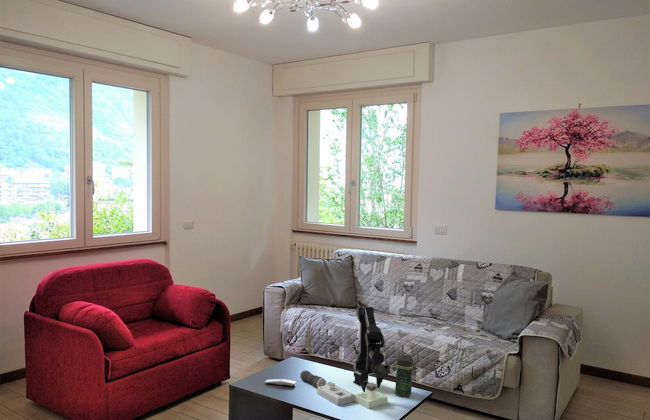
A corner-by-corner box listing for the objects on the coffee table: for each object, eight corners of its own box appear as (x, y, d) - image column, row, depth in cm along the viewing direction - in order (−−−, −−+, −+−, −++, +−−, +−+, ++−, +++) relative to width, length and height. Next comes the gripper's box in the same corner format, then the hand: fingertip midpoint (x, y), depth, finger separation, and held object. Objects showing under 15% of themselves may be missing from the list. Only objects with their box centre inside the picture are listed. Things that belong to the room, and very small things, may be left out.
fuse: (330, 392, 246) (331, 381, 246) (334, 394, 244) (335, 383, 244) (325, 394, 245) (326, 382, 244) (329, 396, 242) (330, 384, 242)
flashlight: (298, 380, 261) (299, 370, 261) (307, 378, 264) (307, 368, 264) (317, 390, 249) (317, 379, 249) (325, 388, 252) (326, 377, 252)
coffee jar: (410, 398, 244) (412, 360, 243) (393, 396, 246) (395, 358, 246) (412, 391, 253) (414, 355, 252) (396, 389, 255) (398, 352, 255)
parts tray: (372, 395, 245) (373, 389, 245) (387, 403, 237) (387, 396, 237) (354, 400, 238) (354, 394, 238) (368, 408, 230) (368, 402, 230)
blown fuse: (370, 398, 240) (371, 382, 239) (375, 401, 237) (376, 384, 237) (366, 400, 238) (367, 383, 238) (370, 402, 235) (371, 385, 235)
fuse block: (333, 389, 251) (333, 382, 250) (354, 400, 238) (354, 393, 238) (316, 393, 244) (317, 386, 244) (337, 405, 232) (337, 398, 232)
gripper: (370, 365, 225) (368, 400, 225) (399, 358, 236) (397, 391, 237) (353, 358, 234) (351, 391, 234) (382, 352, 245) (381, 383, 246)
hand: (371, 389), depth 237 cm, fingers open, 9 cm apart
